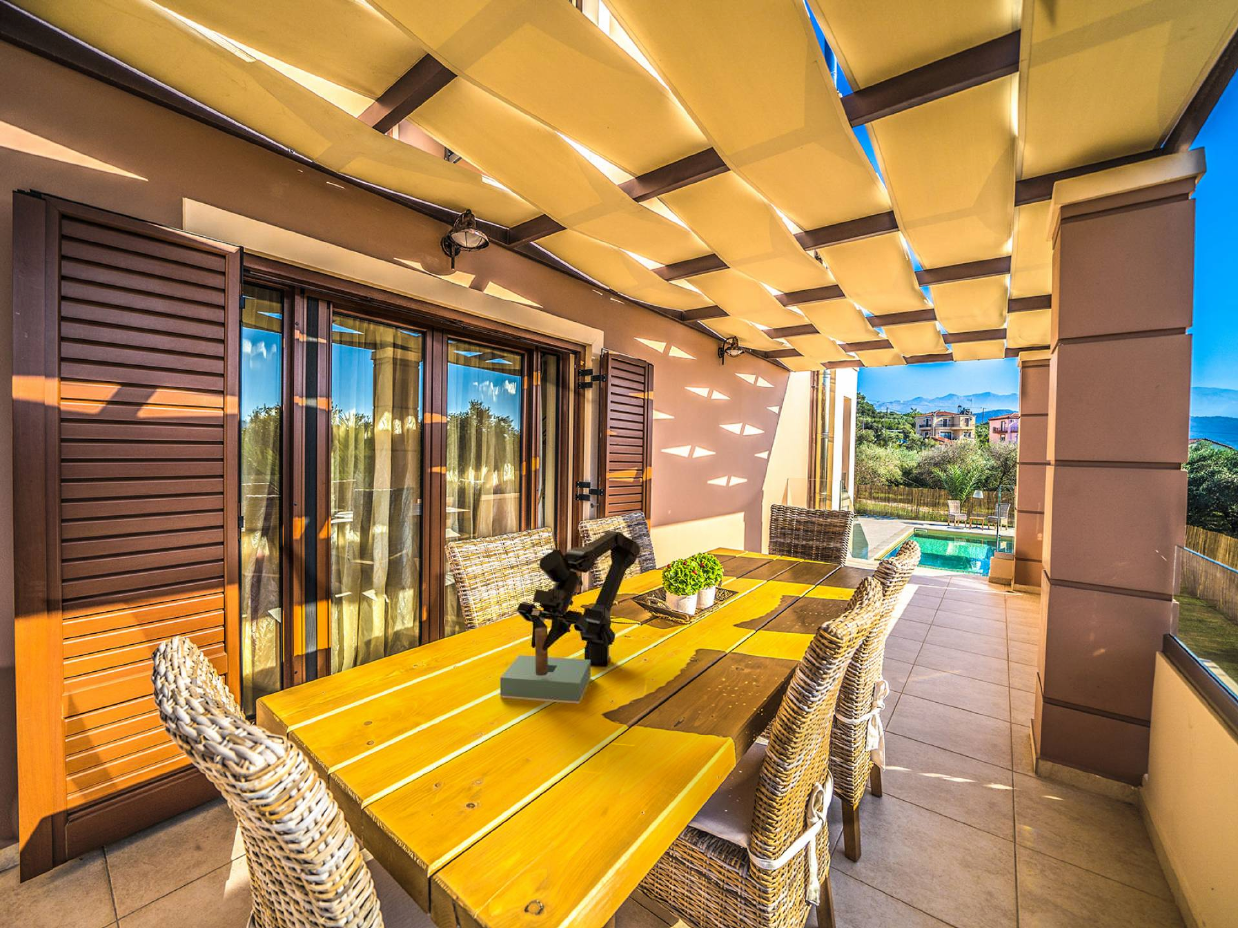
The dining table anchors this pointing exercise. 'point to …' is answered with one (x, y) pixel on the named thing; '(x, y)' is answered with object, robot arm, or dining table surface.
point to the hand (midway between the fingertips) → (538, 648)
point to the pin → (541, 651)
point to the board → (546, 680)
